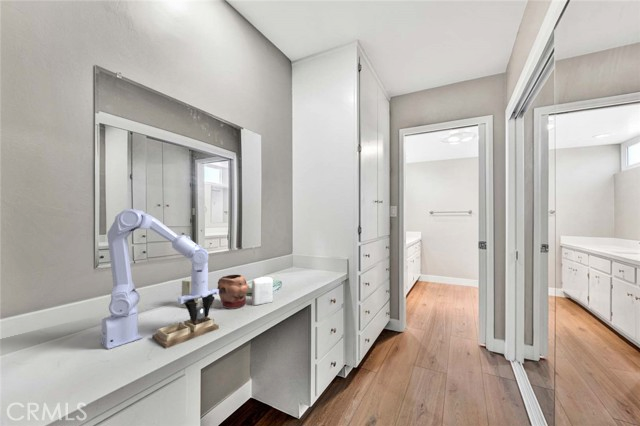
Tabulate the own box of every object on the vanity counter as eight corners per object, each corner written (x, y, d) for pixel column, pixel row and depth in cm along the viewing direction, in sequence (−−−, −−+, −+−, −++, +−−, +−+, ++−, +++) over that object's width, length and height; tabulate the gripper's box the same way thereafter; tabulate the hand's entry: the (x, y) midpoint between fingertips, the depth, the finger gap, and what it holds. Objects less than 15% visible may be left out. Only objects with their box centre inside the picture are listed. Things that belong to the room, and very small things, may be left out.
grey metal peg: (196, 327, 93) (196, 310, 93) (190, 324, 95) (190, 308, 95) (207, 323, 96) (207, 307, 96) (201, 321, 98) (201, 305, 99)
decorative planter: (205, 305, 121) (206, 276, 121) (226, 298, 131) (226, 271, 132) (237, 313, 111) (237, 280, 112) (256, 304, 122) (256, 275, 122)
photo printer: (270, 300, 129) (270, 275, 130) (274, 302, 126) (274, 276, 126) (250, 303, 123) (250, 278, 124) (253, 306, 120) (253, 279, 120)
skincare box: (189, 308, 117) (189, 281, 117) (180, 307, 118) (181, 280, 118) (198, 303, 123) (198, 278, 124) (190, 303, 124) (190, 277, 124)
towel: (234, 295, 138) (234, 286, 138) (255, 285, 158) (255, 277, 158) (264, 299, 132) (264, 289, 132) (282, 288, 153) (282, 279, 153)
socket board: (166, 348, 81) (166, 337, 81) (152, 338, 88) (152, 328, 88) (218, 328, 96) (218, 319, 96) (203, 321, 102) (203, 313, 102)
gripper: (185, 287, 88) (184, 327, 87) (223, 279, 99) (223, 314, 99) (175, 283, 92) (174, 322, 92) (213, 276, 103) (213, 310, 103)
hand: (199, 318), depth 96 cm, fingers open, 4 cm apart
